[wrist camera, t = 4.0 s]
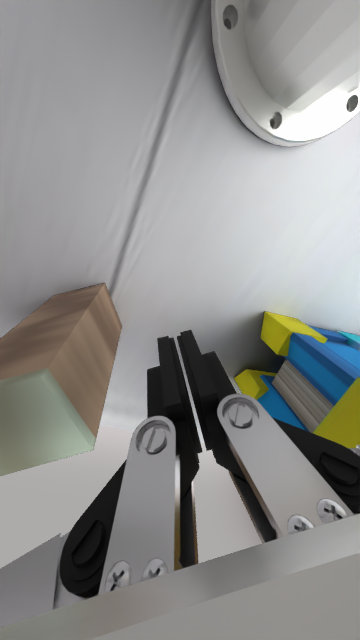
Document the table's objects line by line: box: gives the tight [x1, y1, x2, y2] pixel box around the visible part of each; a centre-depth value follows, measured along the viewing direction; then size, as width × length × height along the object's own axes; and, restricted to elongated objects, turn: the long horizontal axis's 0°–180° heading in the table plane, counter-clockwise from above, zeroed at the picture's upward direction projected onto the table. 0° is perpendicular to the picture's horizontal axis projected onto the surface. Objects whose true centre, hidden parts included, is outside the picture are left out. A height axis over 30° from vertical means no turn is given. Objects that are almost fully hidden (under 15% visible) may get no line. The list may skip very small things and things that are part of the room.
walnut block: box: [0, 283, 122, 476], centre depth 13 cm, size 4×4×12 cm
